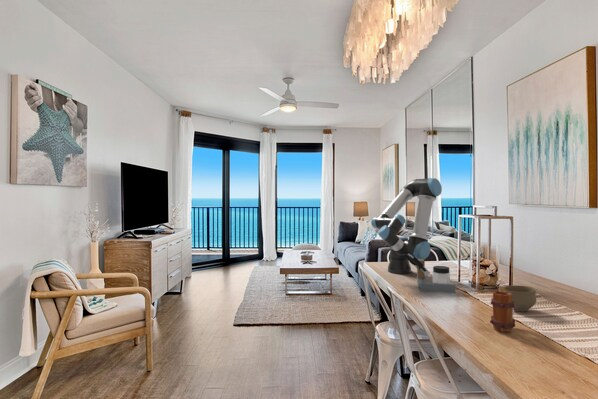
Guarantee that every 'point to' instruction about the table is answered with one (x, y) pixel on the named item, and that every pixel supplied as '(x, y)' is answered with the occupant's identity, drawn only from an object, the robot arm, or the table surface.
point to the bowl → (522, 297)
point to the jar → (441, 275)
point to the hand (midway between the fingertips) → (426, 273)
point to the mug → (502, 310)
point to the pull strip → (432, 286)
